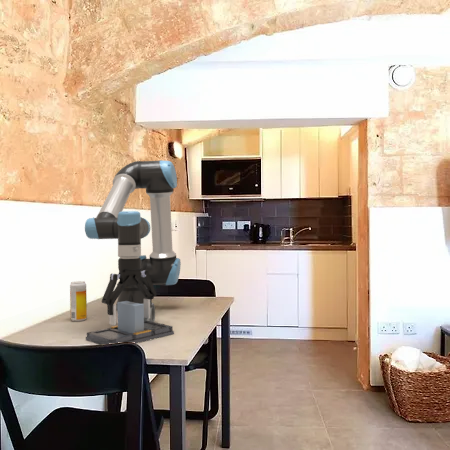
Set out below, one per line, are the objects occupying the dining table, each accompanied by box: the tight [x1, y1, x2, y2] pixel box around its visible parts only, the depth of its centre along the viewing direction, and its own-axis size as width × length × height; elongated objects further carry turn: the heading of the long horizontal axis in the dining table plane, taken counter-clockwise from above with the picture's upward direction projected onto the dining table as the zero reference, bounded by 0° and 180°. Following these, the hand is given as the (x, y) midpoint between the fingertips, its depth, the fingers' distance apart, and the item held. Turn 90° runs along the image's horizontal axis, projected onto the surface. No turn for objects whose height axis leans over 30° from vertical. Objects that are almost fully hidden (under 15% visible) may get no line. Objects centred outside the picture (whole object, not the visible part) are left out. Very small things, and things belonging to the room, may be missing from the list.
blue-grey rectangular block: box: [116, 301, 144, 334], centre depth 154 cm, size 10×4×10 cm, turn 46°
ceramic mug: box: [144, 302, 156, 322], centre depth 173 cm, size 11×8×8 cm
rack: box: [85, 321, 175, 345], centre depth 154 cm, size 16×24×3 cm, turn 136°
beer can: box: [69, 280, 88, 322], centre depth 181 cm, size 6×6×15 cm
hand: (130, 321), depth 154 cm, fingers open, 13 cm apart
